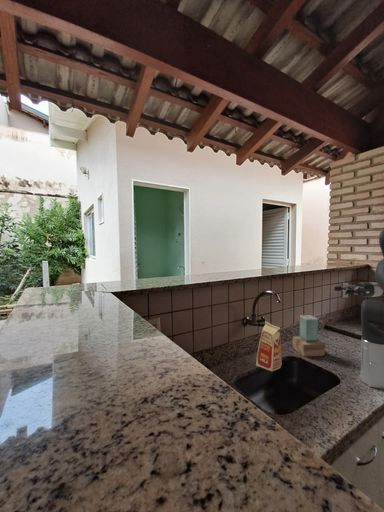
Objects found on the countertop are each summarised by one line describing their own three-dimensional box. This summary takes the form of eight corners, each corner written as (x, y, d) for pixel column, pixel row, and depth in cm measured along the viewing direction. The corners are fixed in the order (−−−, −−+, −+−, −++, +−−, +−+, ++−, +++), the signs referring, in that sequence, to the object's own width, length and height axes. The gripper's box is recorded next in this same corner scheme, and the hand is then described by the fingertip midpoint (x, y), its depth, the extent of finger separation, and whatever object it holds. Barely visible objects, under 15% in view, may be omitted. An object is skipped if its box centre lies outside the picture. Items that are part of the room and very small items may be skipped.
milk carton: (256, 365, 110) (256, 322, 109) (266, 358, 116) (266, 318, 115) (274, 372, 103) (274, 327, 102) (284, 365, 109) (284, 322, 108)
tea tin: (317, 342, 121) (318, 318, 120) (305, 342, 120) (306, 318, 120) (310, 337, 127) (310, 315, 126) (299, 337, 126) (299, 315, 126)
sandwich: (324, 355, 119) (324, 343, 118) (303, 356, 118) (303, 344, 117) (311, 346, 130) (312, 335, 129) (292, 347, 129) (292, 336, 128)
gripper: (359, 280, 131) (331, 280, 130) (381, 284, 117) (350, 285, 115) (358, 293, 131) (330, 294, 130) (381, 299, 117) (350, 300, 116)
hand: (340, 290), depth 123 cm, fingers open, 8 cm apart
